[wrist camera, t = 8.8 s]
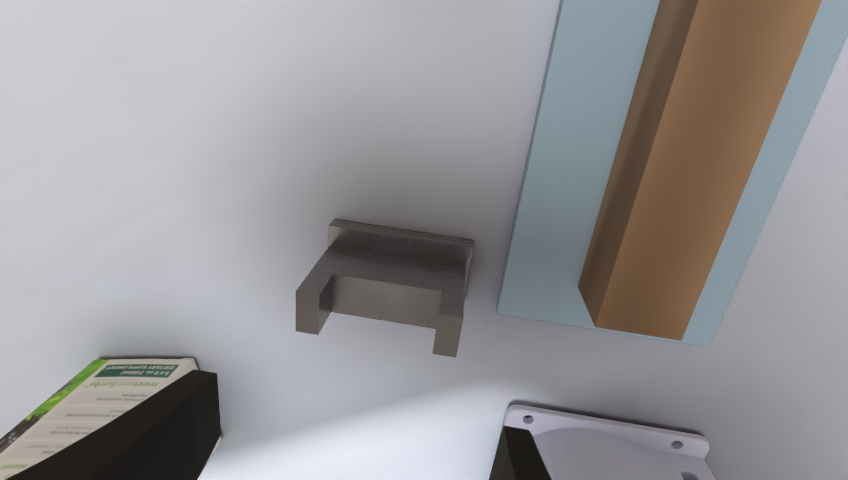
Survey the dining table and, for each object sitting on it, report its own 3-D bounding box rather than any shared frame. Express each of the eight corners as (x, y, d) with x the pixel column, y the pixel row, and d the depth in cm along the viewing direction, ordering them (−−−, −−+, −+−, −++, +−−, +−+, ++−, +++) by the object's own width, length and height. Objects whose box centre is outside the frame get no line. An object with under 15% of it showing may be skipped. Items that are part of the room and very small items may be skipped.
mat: (977, -294, 12) (1001, -310, 11) (702, 339, 20) (708, 347, 19) (628, -323, 12) (635, -341, 12) (496, 306, 20) (496, 313, 20)
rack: (541, -145, 14) (572, -240, 9) (462, 301, 20) (458, 374, 16) (350, -165, 14) (290, -267, 10) (331, 280, 21) (289, 346, 16)
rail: (836, -211, 12) (940, -287, 10) (651, 297, 19) (681, 340, 16) (723, -222, 12) (793, -299, 10) (577, 286, 19) (594, 327, 16)
